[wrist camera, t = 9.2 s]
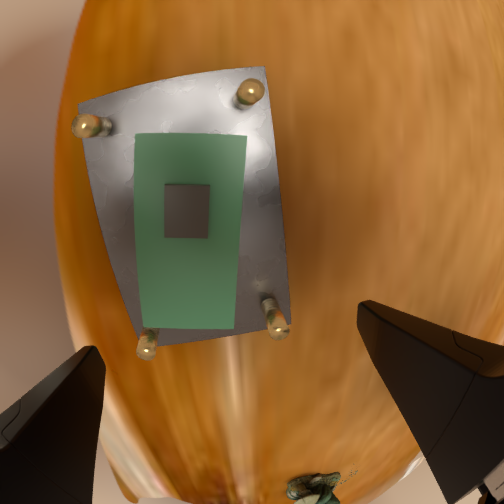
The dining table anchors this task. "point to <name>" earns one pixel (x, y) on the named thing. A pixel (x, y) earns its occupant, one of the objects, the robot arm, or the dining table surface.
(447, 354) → the robot arm
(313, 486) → the frog figurine
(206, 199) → the board
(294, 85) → the dining table surface
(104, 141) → the chassis
